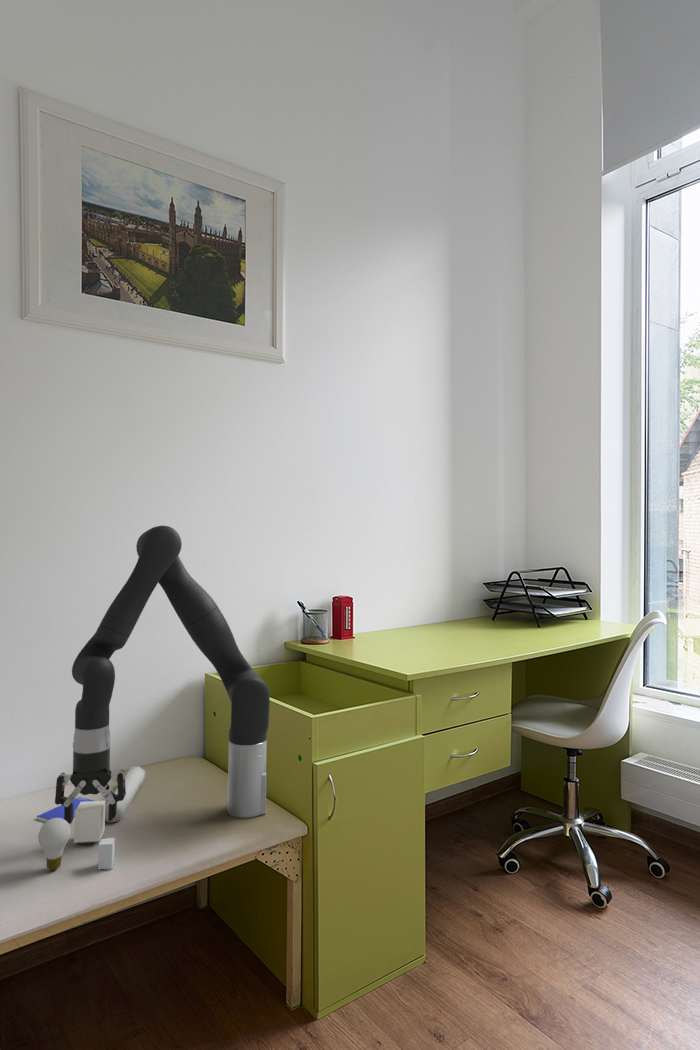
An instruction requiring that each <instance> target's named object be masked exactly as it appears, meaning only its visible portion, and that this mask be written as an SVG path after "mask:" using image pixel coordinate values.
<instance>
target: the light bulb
mask: <svg viewBox="0 0 700 1050" xmlns="http://www.w3.org/2000/svg"><path fill="white" fill-rule="evenodd" d="M70 825H71V824H68V822H67V821H66V820H64V819H62V818H53V819H50V820H48V821H47V822H45V821H44V823H43V824H42V826H41V827H40V829H39V832H38V835H37V837H38V843H39V844H40V847H42V849H43V852H44V854H45V857H46V868H47V869H48V870H49V871H52V870H53V871H56V870H57V869H58V868H60V867H61V865H62V857H63V856H62V855H63V853H64V850H65V847H66V845H67V843H68V842H69V840H70V837H71V833H72V829H71V826H70Z"/></svg>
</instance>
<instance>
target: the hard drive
mask: <svg viewBox="0 0 700 1050" xmlns="http://www.w3.org/2000/svg"><path fill="white" fill-rule="evenodd" d="M88 801H95V800H94V799H89V798H87V797H86V798H85V797H82V796H78V797H75V799H74V800H73V801H72V803H73V821H74V820H75V810H76V809H77V807H78V805H79V804H80V802H88ZM53 818H62V819H64V806H63V805H61V804H60V805H59V806H56V807H54V808H52V809H49V810H47V811H44V812H43V813H41V814H39V815H36V820H37V821H42V822H44V823H45V822H47V821H48V820H50V819H53ZM73 821H72V822H73Z"/></svg>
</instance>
